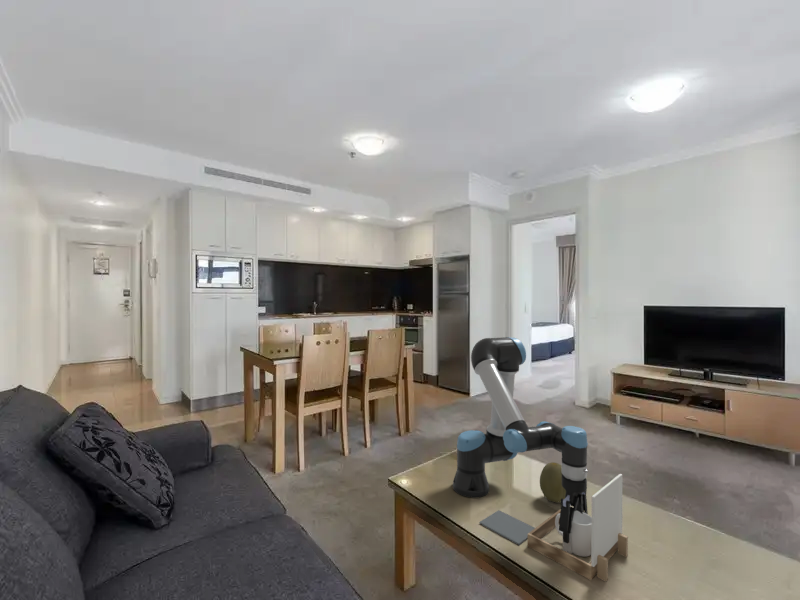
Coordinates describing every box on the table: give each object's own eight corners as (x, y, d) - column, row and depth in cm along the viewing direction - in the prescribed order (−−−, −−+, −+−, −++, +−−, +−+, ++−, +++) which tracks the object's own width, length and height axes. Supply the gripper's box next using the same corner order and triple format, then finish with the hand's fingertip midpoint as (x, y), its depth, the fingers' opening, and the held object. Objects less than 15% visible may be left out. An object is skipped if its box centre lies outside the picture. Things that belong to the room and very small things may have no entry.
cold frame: (527, 546, 124) (527, 534, 124) (560, 520, 139) (560, 509, 139) (590, 580, 109) (590, 566, 109) (620, 546, 124) (620, 534, 124)
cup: (587, 561, 117) (587, 528, 117) (549, 542, 126) (549, 512, 126) (597, 549, 123) (597, 517, 123) (560, 532, 132) (560, 502, 132)
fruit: (555, 491, 160) (555, 455, 160) (576, 504, 150) (576, 466, 150) (533, 496, 156) (533, 459, 156) (553, 510, 146) (553, 471, 146)
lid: (591, 579, 110) (591, 496, 110) (619, 547, 124) (620, 473, 124) (602, 585, 107) (603, 500, 107) (630, 552, 122) (630, 476, 122)
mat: (479, 523, 137) (479, 522, 137) (498, 511, 145) (498, 510, 145) (519, 545, 125) (519, 543, 125) (537, 530, 133) (537, 529, 133)
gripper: (570, 491, 115) (570, 566, 115) (599, 470, 129) (598, 537, 129) (547, 481, 120) (546, 553, 120) (576, 463, 134) (576, 527, 134)
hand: (573, 545), depth 124 cm, fingers closed on cup, 8 cm apart
